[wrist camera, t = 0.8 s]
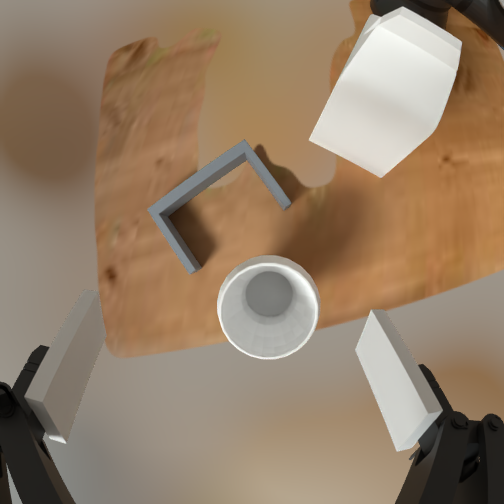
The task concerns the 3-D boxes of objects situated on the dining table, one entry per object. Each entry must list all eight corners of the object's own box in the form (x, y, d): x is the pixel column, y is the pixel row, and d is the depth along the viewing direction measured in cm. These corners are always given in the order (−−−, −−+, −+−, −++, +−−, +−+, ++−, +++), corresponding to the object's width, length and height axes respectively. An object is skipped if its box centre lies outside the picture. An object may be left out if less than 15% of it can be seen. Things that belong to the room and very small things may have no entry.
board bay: (246, 148, 45) (244, 139, 41) (289, 206, 45) (291, 203, 41) (157, 212, 46) (147, 209, 42) (196, 271, 46) (189, 274, 42)
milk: (308, 140, 44) (345, 33, 18) (336, 82, 44) (381, -35, 18) (381, 178, 44) (482, 114, 18) (404, 117, 43) (492, 30, 17)
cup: (236, 331, 45) (221, 369, 30) (226, 258, 45) (205, 263, 30) (310, 322, 45) (329, 357, 30) (302, 248, 45) (318, 248, 30)
